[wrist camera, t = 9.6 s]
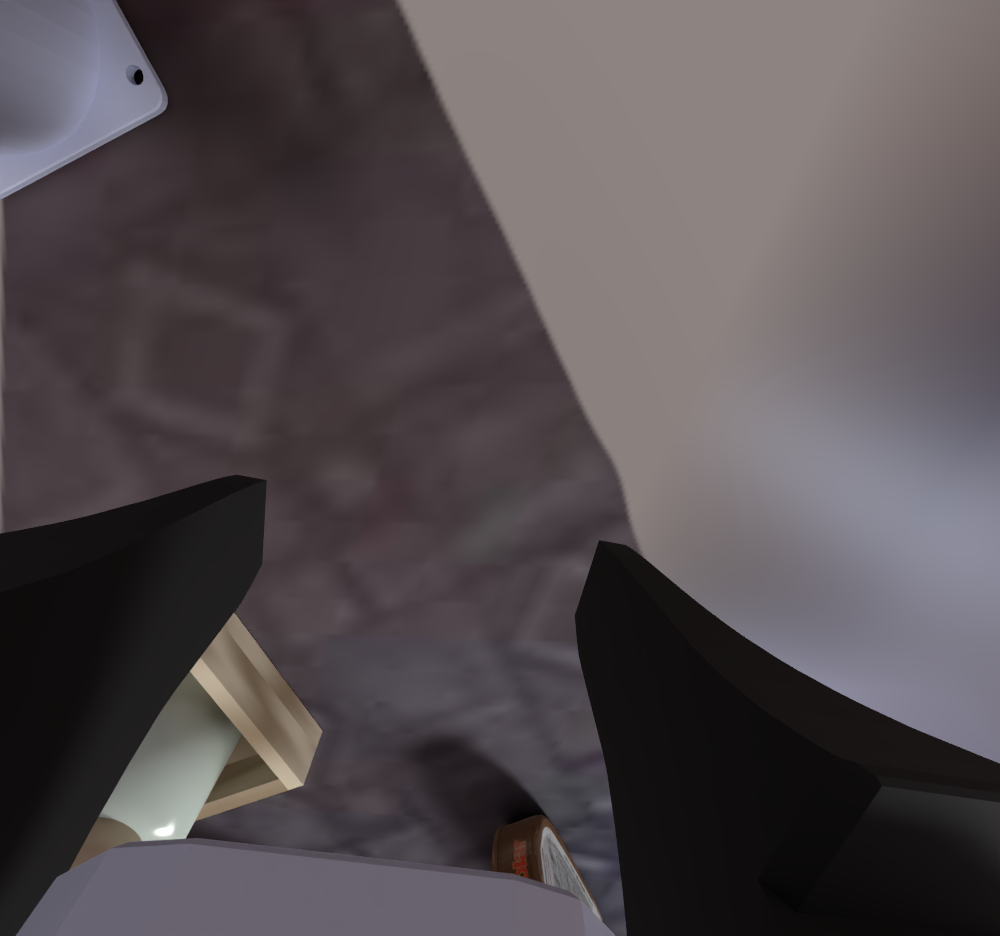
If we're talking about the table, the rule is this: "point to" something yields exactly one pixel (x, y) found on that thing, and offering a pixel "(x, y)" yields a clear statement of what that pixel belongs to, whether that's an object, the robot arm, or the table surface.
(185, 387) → the table surface
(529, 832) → the tin
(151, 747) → the bottle
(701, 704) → the robot arm
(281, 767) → the wooden box
